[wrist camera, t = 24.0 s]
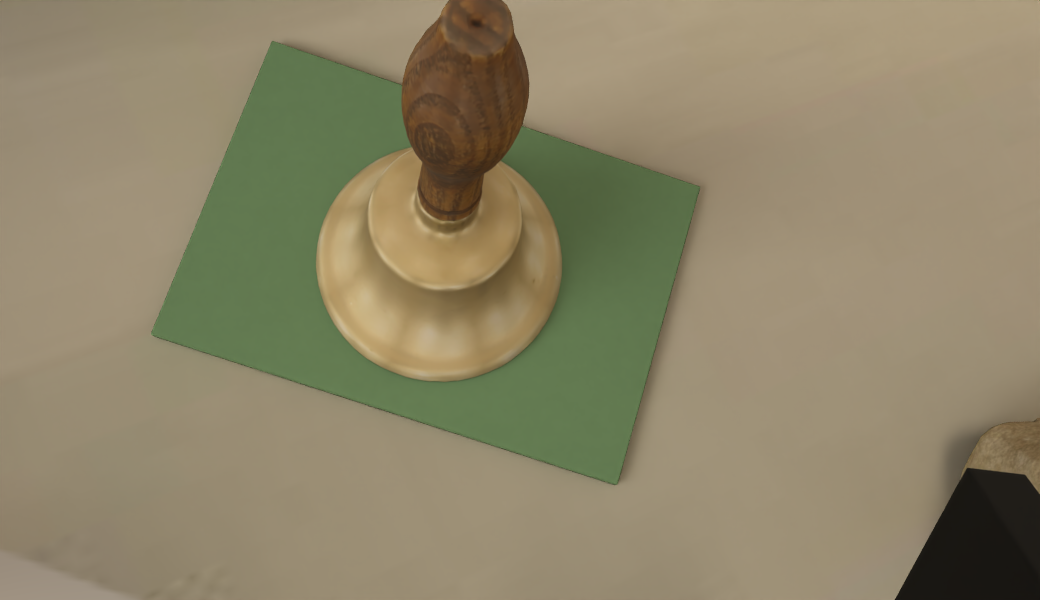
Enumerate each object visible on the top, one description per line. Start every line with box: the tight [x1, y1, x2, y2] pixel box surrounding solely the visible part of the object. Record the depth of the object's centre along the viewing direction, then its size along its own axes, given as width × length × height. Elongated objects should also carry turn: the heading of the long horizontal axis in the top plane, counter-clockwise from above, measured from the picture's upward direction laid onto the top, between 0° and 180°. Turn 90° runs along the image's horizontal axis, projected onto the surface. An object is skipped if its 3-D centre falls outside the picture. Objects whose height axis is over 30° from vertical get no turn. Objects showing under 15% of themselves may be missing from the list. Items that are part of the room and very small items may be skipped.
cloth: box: [151, 41, 700, 485], centre depth 32 cm, size 16×11×1 cm
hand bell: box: [316, 0, 562, 382], centre depth 24 cm, size 8×8×16 cm
